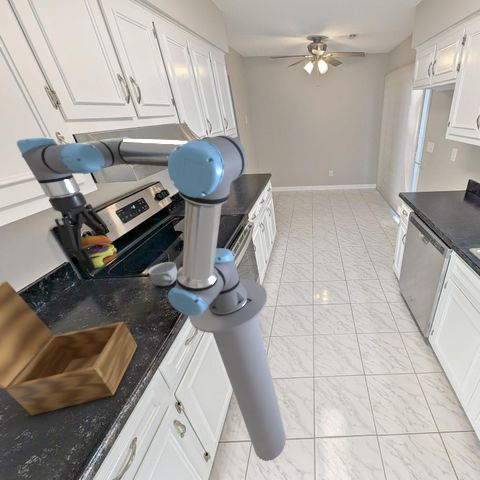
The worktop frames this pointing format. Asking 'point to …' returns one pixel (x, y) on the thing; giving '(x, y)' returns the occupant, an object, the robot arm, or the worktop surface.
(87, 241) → the cheeseburger
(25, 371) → the chest
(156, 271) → the teacup
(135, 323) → the worktop surface
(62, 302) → the worktop surface
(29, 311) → the lid
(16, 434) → the worktop surface
